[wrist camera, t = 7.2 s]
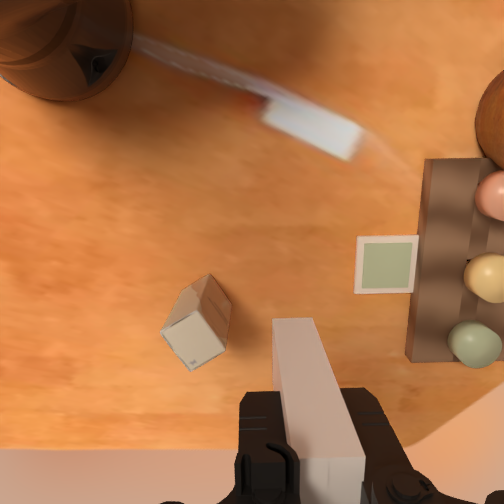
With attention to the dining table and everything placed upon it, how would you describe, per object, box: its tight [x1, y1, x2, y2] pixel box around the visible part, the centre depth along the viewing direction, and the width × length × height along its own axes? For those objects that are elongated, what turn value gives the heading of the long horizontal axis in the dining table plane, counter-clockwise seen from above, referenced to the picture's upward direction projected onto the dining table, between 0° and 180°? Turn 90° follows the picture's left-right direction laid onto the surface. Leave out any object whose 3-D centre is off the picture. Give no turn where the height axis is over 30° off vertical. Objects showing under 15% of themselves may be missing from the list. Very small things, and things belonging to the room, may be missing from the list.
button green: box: [448, 320, 502, 368], centre depth 44 cm, size 5×5×5 cm
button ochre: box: [464, 252, 504, 303], centre depth 40 cm, size 5×5×5 cm
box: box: [160, 274, 232, 372], centre depth 40 cm, size 5×4×11 cm
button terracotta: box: [475, 170, 504, 221], centre depth 38 cm, size 5×5×5 cm
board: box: [405, 158, 504, 363], centre depth 43 cm, size 24×12×2 cm, turn 1°
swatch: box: [353, 235, 419, 294], centre depth 44 cm, size 7×7×1 cm
